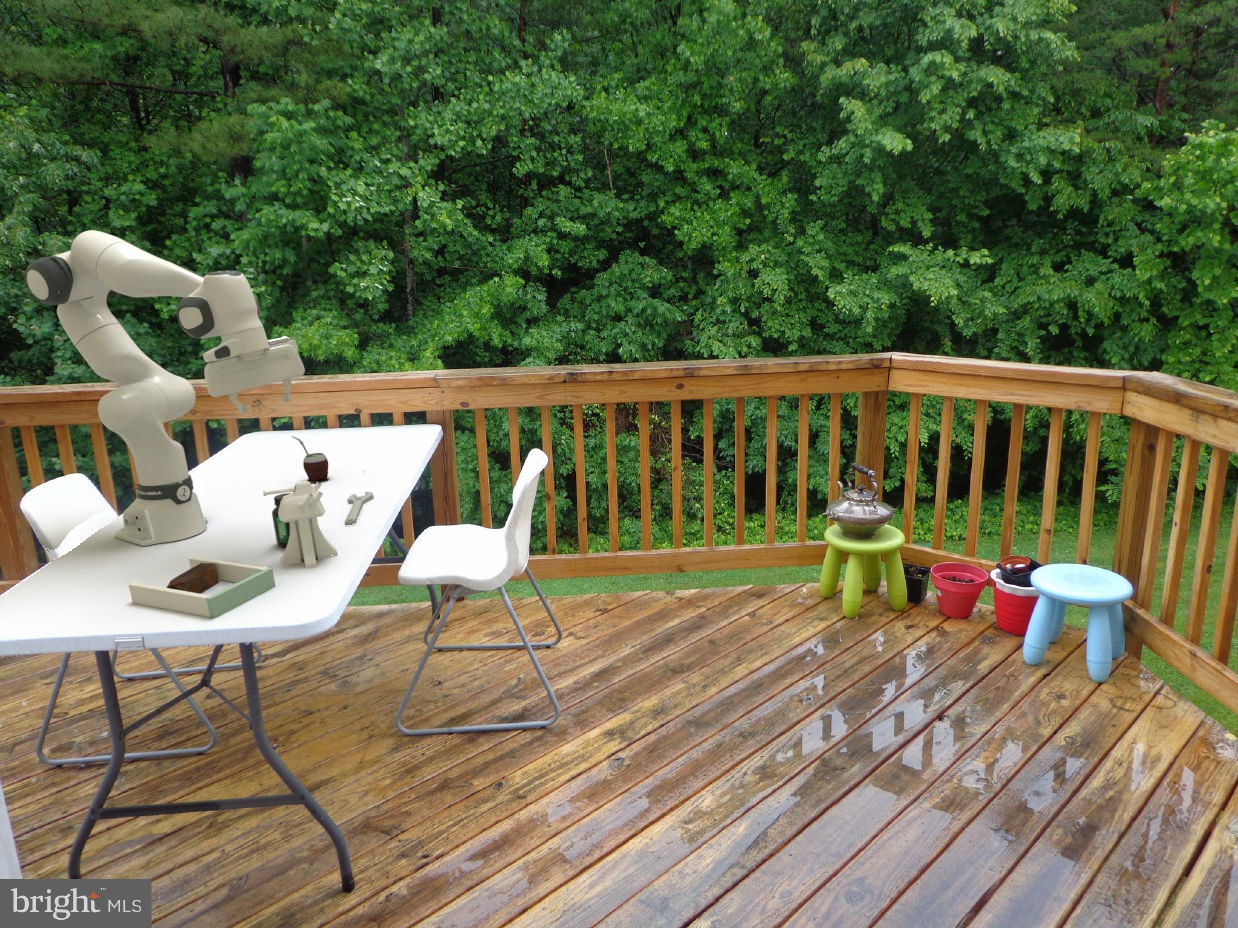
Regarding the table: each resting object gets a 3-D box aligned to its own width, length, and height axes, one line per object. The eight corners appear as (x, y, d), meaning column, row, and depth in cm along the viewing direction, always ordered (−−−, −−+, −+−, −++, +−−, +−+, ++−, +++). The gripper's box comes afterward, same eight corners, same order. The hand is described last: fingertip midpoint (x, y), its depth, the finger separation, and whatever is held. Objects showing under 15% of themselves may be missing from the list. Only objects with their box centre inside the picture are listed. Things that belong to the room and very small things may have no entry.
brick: (204, 582, 186) (200, 562, 185) (220, 583, 185) (215, 562, 184) (168, 603, 177) (163, 582, 175) (184, 604, 176) (180, 583, 174)
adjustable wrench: (355, 527, 217) (354, 520, 217) (329, 529, 217) (328, 522, 216) (375, 496, 241) (374, 490, 241) (352, 498, 241) (351, 492, 240)
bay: (132, 602, 177) (128, 584, 176) (196, 573, 191) (193, 556, 190) (214, 617, 168) (210, 598, 167) (275, 585, 182) (272, 568, 181)
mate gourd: (334, 477, 262) (327, 429, 258) (323, 484, 254) (315, 435, 250) (310, 477, 262) (303, 429, 258) (299, 485, 255) (291, 436, 251)
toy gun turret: (274, 556, 199) (261, 481, 194) (334, 545, 204) (323, 472, 199) (277, 574, 188) (263, 495, 183) (340, 562, 193) (328, 485, 188)
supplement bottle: (286, 550, 202) (278, 502, 199) (272, 545, 206) (263, 497, 203) (313, 542, 207) (305, 494, 204) (298, 536, 211) (290, 489, 208)
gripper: (289, 335, 195) (308, 394, 198) (194, 356, 184) (215, 419, 187) (298, 333, 190) (316, 394, 193) (200, 355, 179) (221, 419, 182)
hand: (266, 406), depth 190 cm, fingers open, 8 cm apart
